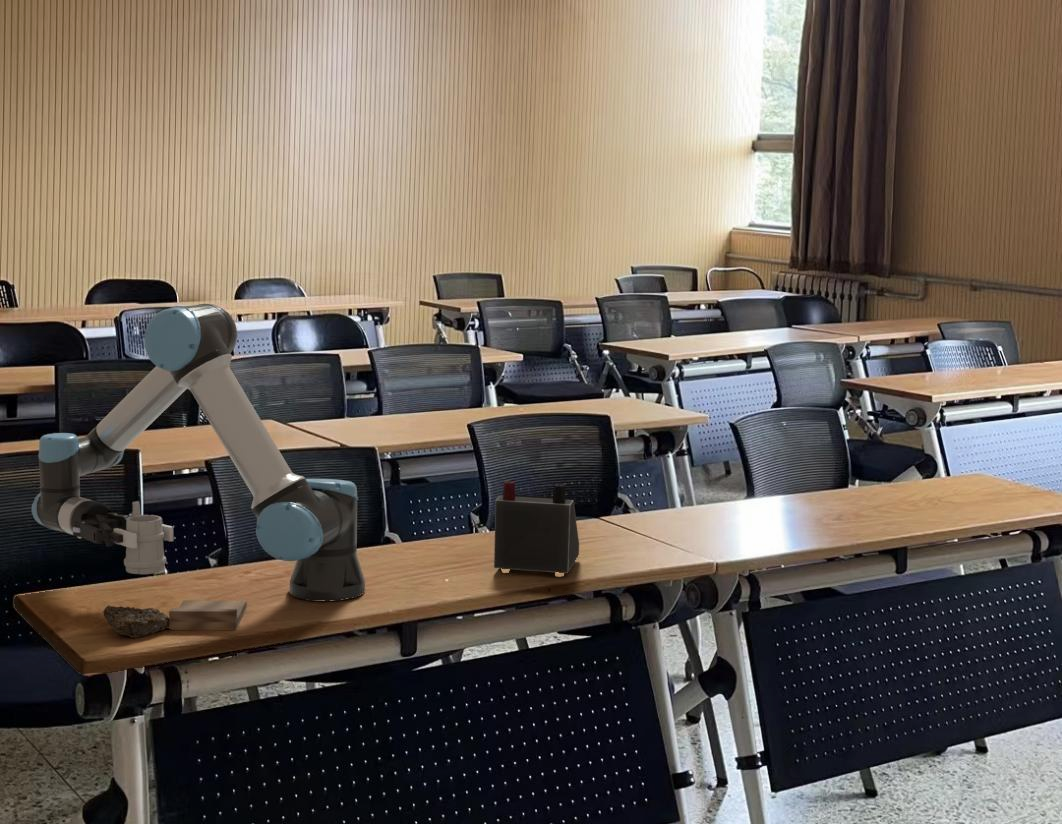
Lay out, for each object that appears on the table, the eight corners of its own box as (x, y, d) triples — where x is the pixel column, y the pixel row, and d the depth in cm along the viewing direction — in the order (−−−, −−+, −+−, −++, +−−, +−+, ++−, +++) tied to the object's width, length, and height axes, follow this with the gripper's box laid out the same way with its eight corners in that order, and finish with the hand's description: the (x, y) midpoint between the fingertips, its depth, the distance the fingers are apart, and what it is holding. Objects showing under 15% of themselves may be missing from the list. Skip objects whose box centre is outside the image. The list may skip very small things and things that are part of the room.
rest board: (246, 608, 266) (246, 590, 265) (235, 630, 252) (235, 611, 251) (183, 607, 265) (183, 590, 264) (169, 629, 251) (169, 611, 250)
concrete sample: (111, 644, 243) (110, 616, 242) (99, 628, 251) (99, 601, 251) (176, 636, 248) (175, 609, 247) (163, 621, 257) (162, 594, 256)
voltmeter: (578, 561, 309) (581, 473, 306) (567, 579, 293) (570, 487, 290) (508, 556, 311) (510, 469, 309) (493, 574, 295) (495, 482, 293)
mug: (130, 576, 254) (128, 512, 252) (114, 562, 264) (112, 501, 262) (171, 572, 257) (169, 509, 256) (154, 558, 267) (152, 497, 266)
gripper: (132, 529, 279) (199, 548, 264) (40, 546, 264) (106, 567, 249) (131, 493, 278) (198, 509, 263) (38, 507, 263) (104, 526, 248)
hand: (153, 537), depth 256 cm, fingers closed on mug, 7 cm apart
